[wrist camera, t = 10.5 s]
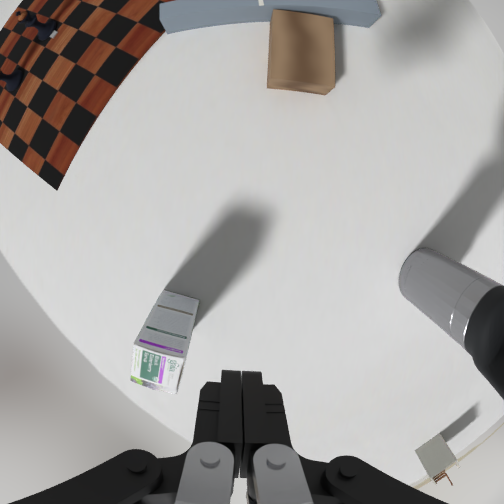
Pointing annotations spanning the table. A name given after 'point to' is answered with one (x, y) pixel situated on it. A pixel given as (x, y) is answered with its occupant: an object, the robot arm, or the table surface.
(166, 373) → the syrup box
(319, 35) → the block
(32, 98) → the chessboard
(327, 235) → the table surface
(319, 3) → the board
